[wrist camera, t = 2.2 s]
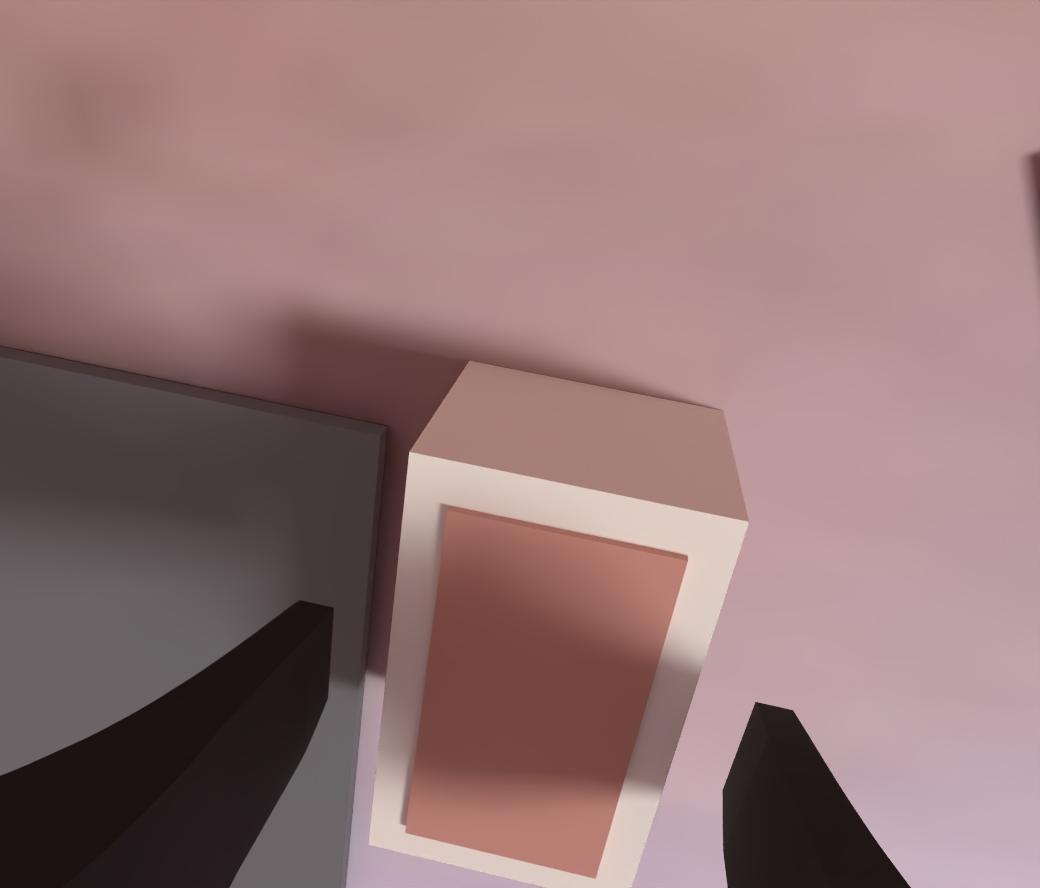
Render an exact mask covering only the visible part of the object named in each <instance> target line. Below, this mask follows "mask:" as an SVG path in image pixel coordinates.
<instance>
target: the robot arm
mask: <svg viewBox="0 0 1040 888" xmlns="http://www.w3.org/2000/svg"><path fill="white" fill-rule="evenodd" d="M333 617H334V607H329V606H325V605H320V604H316V603H311V602H307V601H302V600H299V601H298V602H296V603H294V604H293V605H291V606H290V607H289V608H287V609H286V610H285V611H283V612H282V613H281V614H279V615H278V616H277V617H275V618H274V619H273V620H271V621H270V622H269V623H267V624H266V625H265V626H263V627H262V628H261V629H259V630H258V631H257V632H255V633H254V634H253V635H251V636H250V637H249V638H247V639H246V640H244V641H243V642H242V643H240V644H239V645H238V646H236V647H235V648H233V649H232V650H231V651H229V652H228V653H226V654H225V655H223V656H222V657H221V658H219V659H218V660H216V661H215V662H213V663H212V664H211V665H209V666H208V667H206V668H205V669H203V670H202V671H200V672H199V673H197V674H196V675H194V676H193V677H191V678H190V679H188V680H186V681H185V682H183V683H182V684H180V685H179V686H177V687H175V688H174V689H172V690H171V691H169V692H167V693H166V694H164V695H163V696H161V697H160V698H158V699H156V700H155V701H153V702H151V703H150V704H148V705H146V706H145V707H143V708H141V709H139V710H138V711H136V712H134V713H132V714H131V715H129V716H127V717H125V718H123V719H122V720H120V721H118V722H116V723H114V724H112V725H110V726H109V727H107V728H105V729H103V730H101V731H99V732H97V733H95V734H93V735H91V736H89V737H87V738H85V739H83V740H81V741H79V742H76V743H74V744H72V745H70V746H67V747H65V748H63V749H61V750H59V751H56V752H54V753H52V754H50V755H48V756H45V757H43V758H41V759H39V760H36V761H34V762H32V763H30V764H28V765H25V766H23V767H20V768H18V769H16V770H13V771H11V772H8V773H6V774H3V775H0V888H230V886H231V884H232V882H233V880H234V878H235V876H236V874H237V872H238V871H239V869H240V867H241V865H242V864H243V862H244V860H245V858H246V857H247V855H248V853H249V851H250V850H251V848H252V846H253V844H254V843H255V841H256V839H257V837H258V836H259V834H260V832H261V830H262V829H263V827H264V825H265V823H266V822H267V820H268V818H269V816H270V815H271V813H272V811H273V809H274V808H275V806H276V804H277V802H278V801H279V799H280V797H281V795H282V794H283V792H284V790H285V788H286V786H287V785H288V783H289V781H290V779H291V778H292V776H293V774H294V772H295V770H296V769H297V767H298V765H299V763H300V761H301V760H302V758H303V756H304V754H305V752H306V750H307V748H308V745H309V743H310V741H311V739H312V736H313V734H314V732H315V729H316V727H317V724H318V722H319V720H320V717H321V715H322V712H323V710H324V707H325V705H326V702H327V700H328V693H329V678H330V662H331V647H332V632H333ZM723 852H724V861H725V869H726V877H727V884H728V888H911V887H910V886H909V885H908V884H907V882H906V881H905V880H904V878H903V877H902V875H901V874H900V873H899V871H898V870H897V869H896V867H895V866H894V865H893V863H892V862H891V861H890V859H889V858H888V857H887V855H886V854H885V852H884V851H883V850H882V848H881V847H880V846H879V844H878V843H877V841H876V840H875V838H874V837H873V836H872V834H871V833H870V831H869V830H868V828H867V827H866V825H865V824H864V822H863V821H862V819H861V818H860V816H859V815H858V813H857V812H856V810H855V809H854V807H853V806H852V804H851V803H850V801H849V800H848V798H847V797H846V795H845V793H844V792H843V790H842V789H841V787H840V786H839V784H838V782H837V781H836V779H835V778H834V776H833V774H832V773H831V771H830V770H829V768H828V766H827V765H826V763H825V762H824V760H823V758H822V757H821V755H820V753H819V752H818V750H817V748H816V747H815V745H814V744H813V742H812V740H811V739H810V737H809V735H808V734H807V732H806V730H805V729H804V727H803V726H802V724H801V722H800V721H799V719H798V718H797V716H796V714H795V713H794V711H793V710H789V709H785V708H780V707H776V706H771V705H767V704H762V703H758V702H755V705H754V708H753V711H752V713H751V716H750V719H749V721H748V724H747V727H746V729H745V732H744V735H743V737H742V740H741V743H740V745H739V748H738V751H737V753H736V756H735V759H734V761H733V764H732V767H731V769H730V772H729V775H728V778H727V780H726V783H725V786H724V788H723Z"/></svg>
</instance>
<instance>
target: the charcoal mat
mask: <svg viewBox="0 0 1040 888" xmlns="http://www.w3.org/2000/svg"><path fill="white" fill-rule="evenodd" d="M387 432H388V426H384V425H379V424H374V423H369V422H364V421H359V420H355V419H350V418H345V417H340V416H335V415H330V414H326V413H321V412H316V411H311V410H306V409H301V408H297V407H292V406H287V405H282V404H277V403H272V402H268V401H263V400H258V399H253V398H248V397H243V396H239V395H234V394H229V393H224V392H219V391H214V390H210V389H205V388H200V387H195V386H190V385H185V384H181V383H176V382H171V381H166V380H161V379H156V378H152V377H147V376H142V375H137V374H132V373H127V372H123V371H118V370H113V369H108V368H103V367H98V366H94V365H89V364H84V363H79V362H74V361H69V360H65V359H60V358H55V357H50V356H45V355H40V354H36V353H31V352H26V351H21V350H16V349H11V348H7V347H2V346H0V775H3V774H6V773H8V772H11V771H13V770H16V769H18V768H20V767H23V766H25V765H28V764H30V763H32V762H34V761H36V760H39V759H41V758H43V757H45V756H48V755H50V754H52V753H54V752H56V751H59V750H61V749H63V748H65V747H67V746H70V745H72V744H74V743H76V742H79V741H81V740H83V739H85V738H87V737H89V736H91V735H93V734H95V733H97V732H99V731H101V730H103V729H105V728H107V727H109V726H110V725H112V724H114V723H116V722H118V721H120V720H122V719H123V718H125V717H127V716H129V715H131V714H132V713H134V712H136V711H138V710H139V709H141V708H143V707H145V706H146V705H148V704H150V703H151V702H153V701H155V700H156V699H158V698H160V697H161V696H163V695H164V694H166V693H167V692H169V691H171V690H172V689H174V688H175V687H177V686H179V685H180V684H182V683H183V682H185V681H186V680H188V679H190V678H191V677H193V676H194V675H196V674H197V673H199V672H200V671H202V670H203V669H205V668H206V667H208V666H209V665H211V664H212V663H213V662H215V661H216V660H218V659H219V658H221V657H222V656H223V655H225V654H226V653H228V652H229V651H231V650H232V649H233V648H235V647H236V646H238V645H239V644H240V643H242V642H243V641H244V640H246V639H247V638H249V637H250V636H251V635H253V634H254V633H255V632H257V631H258V630H259V629H261V628H262V627H263V626H265V625H266V624H267V623H269V622H270V621H271V620H273V619H274V618H275V617H277V616H278V615H279V614H281V613H282V612H283V611H285V610H286V609H287V608H289V607H290V606H291V605H293V604H294V603H296V602H298V601H299V600H302V601H307V602H311V603H316V604H320V605H325V606H329V607H334V617H333V632H332V647H331V662H330V678H329V693H328V700H327V702H326V705H325V707H324V710H323V712H322V715H321V717H320V720H319V722H318V724H317V727H316V729H315V732H314V734H313V736H312V739H311V741H310V743H309V745H308V748H307V750H306V752H305V754H304V756H303V758H302V760H301V761H300V763H299V765H298V767H297V769H296V770H295V772H294V774H293V776H292V778H291V779H290V781H289V783H288V785H287V786H286V788H285V790H284V792H283V794H282V795H281V797H280V799H279V801H278V802H277V804H276V806H275V808H274V809H273V811H272V813H271V815H270V816H269V818H268V820H267V822H266V823H265V825H264V827H263V829H262V830H261V832H260V834H259V836H258V837H257V839H256V841H255V843H254V844H253V846H252V848H251V850H250V851H249V853H248V855H247V857H246V858H245V860H244V862H243V864H242V865H241V867H240V869H239V871H238V872H237V874H236V876H235V878H234V880H233V882H232V884H231V886H230V888H346V877H347V866H348V855H349V844H350V833H351V823H352V812H353V801H354V790H355V779H356V768H357V757H358V747H359V736H360V725H361V714H362V703H363V692H364V681H365V671H366V660H367V649H368V638H369V627H370V616H371V605H372V595H373V584H374V573H375V562H376V551H377V540H378V529H379V519H380V508H381V497H382V486H383V475H384V464H385V453H386V443H387Z"/></svg>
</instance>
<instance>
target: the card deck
mask: <svg viewBox="0 0 1040 888" xmlns="http://www.w3.org/2000/svg"><path fill="white" fill-rule="evenodd" d="M748 524H749V519H748V515H747V511H746V506H745V502H744V498H743V494H742V489H741V485H740V481H739V476H738V472H737V468H736V463H735V459H734V455H733V450H732V446H731V442H730V437H729V433H728V429H727V424H726V420H725V416H724V411H722V410H717V409H712V408H707V407H702V406H697V405H692V404H687V403H682V402H677V401H672V400H667V399H661V398H656V397H651V396H646V395H641V394H636V393H631V392H626V391H621V390H616V389H611V388H606V387H601V386H596V385H590V384H585V383H580V382H575V381H570V380H565V379H560V378H555V377H550V376H545V375H540V374H535V373H530V372H525V371H519V370H514V369H509V368H504V367H499V366H494V365H489V364H484V363H479V362H474V361H469V362H468V364H467V365H466V367H465V368H464V370H463V371H462V373H461V374H460V376H459V377H458V379H457V380H456V382H455V383H454V385H453V386H452V388H451V389H450V391H449V392H448V394H447V396H446V397H445V399H444V400H443V402H442V403H441V405H440V406H439V408H438V409H437V411H436V412H435V414H434V415H433V417H432V418H431V420H430V421H429V423H428V424H427V426H426V427H425V429H424V430H423V432H422V433H421V435H420V436H419V438H418V440H417V441H416V443H415V444H414V446H413V447H412V449H411V450H410V452H409V460H408V470H407V480H406V489H405V499H404V508H403V518H402V528H401V537H400V547H399V557H398V566H397V576H396V585H395V595H394V605H393V614H392V624H391V634H390V643H389V653H388V662H387V672H386V682H385V691H384V701H383V711H382V720H381V730H380V739H379V749H378V759H377V768H376V778H375V787H374V797H373V807H372V816H371V826H370V836H369V845H372V846H376V847H380V848H385V849H389V850H393V851H397V852H401V853H405V854H409V855H413V856H418V857H422V858H426V859H430V860H434V861H438V862H442V863H446V864H450V865H455V866H459V867H463V868H467V869H471V870H475V871H479V872H483V873H488V874H492V875H496V876H500V877H504V878H508V879H512V880H516V881H521V882H525V883H529V884H533V885H537V886H541V887H545V888H631V887H632V884H633V881H634V878H635V875H636V872H637V868H638V865H639V862H640V859H641V856H642V853H643V850H644V847H645V844H646V841H647V837H648V834H649V831H650V828H651V825H652V822H653V819H654V816H655V813H656V809H657V806H658V803H659V800H660V797H661V794H662V791H663V788H664V785H665V782H666V778H667V775H668V772H669V769H670V766H671V763H672V760H673V757H674V754H675V750H676V747H677V744H678V741H679V738H680V735H681V732H682V729H683V726H684V722H685V719H686V716H687V713H688V710H689V707H690V704H691V701H692V698H693V695H694V691H695V688H696V685H697V682H698V679H699V676H700V673H701V670H702V667H703V663H704V660H705V657H706V654H707V651H708V648H709V645H710V642H711V639H712V636H713V632H714V629H715V626H716V623H717V620H718V617H719V614H720V611H721V608H722V604H723V601H724V598H725V595H726V592H727V589H728V586H729V583H730V580H731V576H732V573H733V570H734V567H735V564H736V561H737V558H738V555H739V552H740V549H741V545H742V542H743V539H744V536H745V533H746V530H747V527H748Z"/></svg>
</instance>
